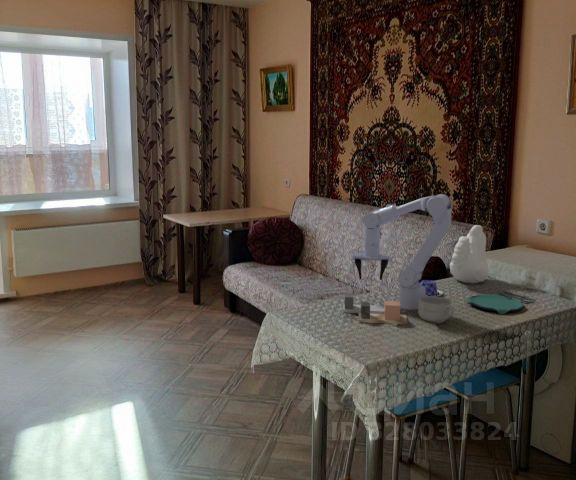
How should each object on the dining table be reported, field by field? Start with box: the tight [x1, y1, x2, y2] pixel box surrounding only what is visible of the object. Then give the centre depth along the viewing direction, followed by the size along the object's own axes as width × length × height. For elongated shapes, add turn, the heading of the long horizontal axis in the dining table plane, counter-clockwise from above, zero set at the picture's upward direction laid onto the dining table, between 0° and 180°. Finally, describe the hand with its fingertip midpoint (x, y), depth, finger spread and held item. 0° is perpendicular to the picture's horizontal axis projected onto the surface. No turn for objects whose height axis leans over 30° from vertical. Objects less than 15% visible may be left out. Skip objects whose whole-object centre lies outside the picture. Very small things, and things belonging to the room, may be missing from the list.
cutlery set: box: [466, 290, 537, 315], centre depth 221 cm, size 20×30×2 cm, turn 128°
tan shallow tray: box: [358, 301, 409, 325], centre depth 197 cm, size 16×7×5 cm, turn 84°
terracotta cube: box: [383, 300, 401, 320], centre depth 197 cm, size 5×5×5 cm
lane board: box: [343, 313, 398, 326], centre depth 203 cm, size 18×20×1 cm
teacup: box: [417, 295, 455, 325], centre depth 198 cm, size 14×11×8 cm
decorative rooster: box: [449, 224, 489, 284], centre depth 251 cm, size 25×16×25 cm, turn 126°
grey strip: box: [342, 292, 384, 314], centre depth 208 cm, size 16×7×5 cm, turn 84°
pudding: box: [419, 279, 444, 297], centre depth 235 cm, size 12×12×5 cm
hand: (370, 279), depth 219 cm, fingers open, 7 cm apart
